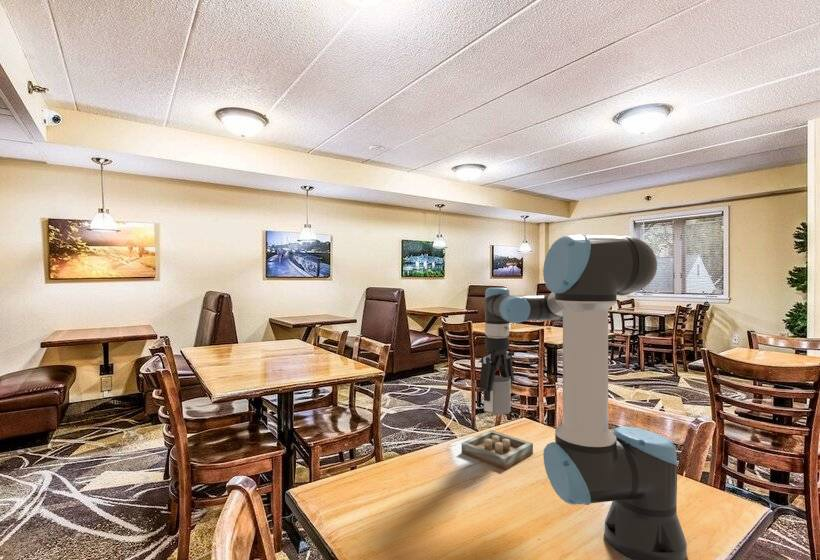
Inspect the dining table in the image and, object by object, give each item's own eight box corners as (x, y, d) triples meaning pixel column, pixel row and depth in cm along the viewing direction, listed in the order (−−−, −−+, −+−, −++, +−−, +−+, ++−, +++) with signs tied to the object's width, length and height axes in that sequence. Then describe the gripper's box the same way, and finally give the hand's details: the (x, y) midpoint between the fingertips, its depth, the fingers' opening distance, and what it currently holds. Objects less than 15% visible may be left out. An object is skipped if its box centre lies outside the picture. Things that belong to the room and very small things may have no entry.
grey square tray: (504, 469, 121) (504, 455, 121) (461, 453, 133) (461, 439, 133) (532, 453, 132) (532, 440, 132) (490, 439, 144) (490, 427, 144)
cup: (508, 406, 136) (508, 375, 136) (512, 414, 128) (512, 382, 128) (482, 405, 137) (482, 375, 137) (484, 414, 129) (484, 381, 129)
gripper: (487, 341, 122) (487, 418, 122) (525, 334, 137) (525, 402, 137) (466, 338, 127) (466, 412, 128) (505, 331, 142) (505, 398, 142)
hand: (497, 407), depth 132 cm, fingers closed on cup, 8 cm apart
